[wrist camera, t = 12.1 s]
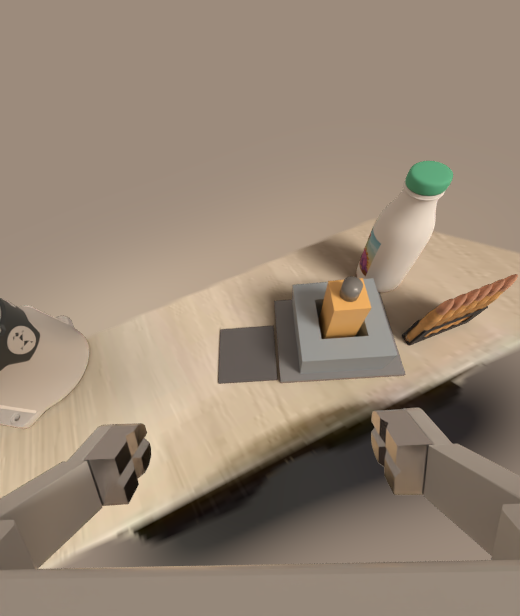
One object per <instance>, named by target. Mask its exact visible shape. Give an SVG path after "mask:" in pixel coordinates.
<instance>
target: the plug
mask: <svg viewBox="0 0 520 616" xmlns="http://www.w3.org/2000/svg"><path fill="white" fill-rule="evenodd" d="M370 310H371V304H370V301H369V297H368V294H367V291H366V287H365V284H364V280H363V278H360V279H359V278H357V277H347V278H346V279H344V280H336V281H328V284H327V288H326V292H325V296H324V300H323V305H322V309H321V313H320V317H319V327H320V333H321V339H331V338H345V337H355V335H356V333H357V332H358V330H359V328H360V327H361V325H362V323H363V322H364V320H365V318H366V317H367V315H368V313H369V312H370Z"/></svg>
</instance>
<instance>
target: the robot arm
mask: <svg viewBox="0 0 520 616" xmlns="http://www.w3.org/2000/svg"><path fill="white" fill-rule="evenodd" d="M88 360H89V345H88V342H87V340H86V338H85V337H84V335H83V334H82V333H80V332H79V331H77V330H76V329H75V328H74V326H73V323H72V321H71V319H70V318H68V317H66V316H58V317H53V316H51V315H49V314H47V313H44V312H42V311H40V310H38V309H36V308H34V307H31V306H28V305H24V306H19V307H17V306H15V305H13V304H12V303H11V302H9V301H7V300H5V299H2V298H0V424H1V425H6V426H11V427H17V428H22V429H26V428H28V427H30V426H31V425H33V424H34V423H35V422H36V421H37V420H38V418H39V417H40V416H41V415H42V414H43V413H44V412H45V411H46V410H47V409H49V408H50V407H51V406H53V405H55V404H56V403H58V402H59V401H61V400H62V399H63V398H64V397H65V396H67V395H68V394H69V393H70V392H71V391H72V390H73V389H74V387H75V386H76V385H77V384H78V382H79V381H80V379H81V377H82V376H83V374H84V372H85V370H86V367H87V364H88ZM19 418H20V419H19ZM372 423H373V425H374V426H375V428H374V429H373V431H372V432H371V441H372V447H373V451H374V454H375V457H376V459H377V461H378V463H379V464H381V465H382V466H384V476H385V477H386V480H387V482H388V484H389V486H390V488H391V490H392V492H393V494H394V495H424V497H425V498H426V499H427V500H428V501H429V502H431V503H432V504H433V505H434V506H435V507H436V508H437V509H439V510H440V511H441V512H442V513H443V514H444V515H445V516H446V517H448V518H449V519H450V520H451V521H452V522H453V523H455V524H456V525H457V526H458V527H459V528H460V529H461V530H463V531H464V532H465V533H466V534H467V535H468V536H469V537H471V538H472V539H473V540H474V541H475V542H476V543H477V544H479V545H480V546H481V547H482V548H483V549H484V550H485V551H486V552H488V553H489V554H490V555H491V556H492V558H491V560H481V561H428V562H427V561H425V562H375V563H326V564H281V565H280V564H278V565H226V566H225V565H224V566H170V567H121V568H120V567H118V568H117V567H116V568H64V569H38V568H39V567H40V566H41V565H42V564H43V563H44V562H45V561H46V560H48V559H49V558H50V557H51V556H52V555H53V554H54V553H55V552H56V551H57V550H58V549H59V548H60V547H61V546H62V545H63V544H64V543H65V542H67V541H68V540H69V539H70V538H71V537H72V536H73V535H74V534H75V533H76V532H77V531H78V530H79V529H80V528H81V527H82V526H83V525H85V524H86V523H87V522H88V521H89V520H90V519H91V518H92V517H93V516H94V515H95V514H96V513H97V512H98V511H99V510H100V509H101V508H102V506H108V505H123V504H129V502H130V500H131V498H132V496H133V494H134V493H135V491H136V489H137V487H138V485H139V483H138V478H139V477H140V476H141V475H143V474H144V473H145V472H146V470H147V468H148V466H149V462H150V458H151V447H150V443H149V442H148V441H147V440H146V439H145V438H144V437H145V436H146V434H147V431H146V428H145V425H143V424H141V423H139V424H115V425H114V424H112V425H101V426H99V427H98V428H97V429H96V430H95V431H94V432H93V433H92V434H91V435H90V436H89V438H88V439H87V440H86V441H85V442H84V443H83V444H82V445H81V446H80V447H79V449H78V450H77V451H76V452H75V453H74V454H73V455H72V456H71V457H70V459H69V460H68V461H67V462H61V463H59V464H58V465H56V466H54V467H53V468H51V469H49V470H48V471H46V472H44V473H43V474H41V475H39V476H37V477H36V478H34V479H32V480H31V481H29V482H27V483H26V484H24V485H22V486H21V487H19V488H17V489H16V490H14V491H12V492H11V493H9V494H7V495H5V496H4V497H2V498H0V616H520V476H519V475H517V474H515V473H513V472H511V471H509V470H507V469H505V468H503V467H501V466H500V465H498V464H496V463H494V462H492V461H490V460H488V459H486V458H484V457H482V456H480V455H478V454H476V453H474V452H473V451H470V450H469V449H467V448H465V447H463V446H461V445H459V444H452V443H451V442H450V441H449V439H448V438H447V437H446V436H445V435H444V434H443V433H442V432H441V430H440V429H439V428H438V427H437V426H436V425H435V424H434V423H433V421H432V420H431V419H430V418H429V417H428V416H427V415H426V414H425V412H424V411H423V410H422V409H420V408H408V409H401V410H384V411H373V413H372Z"/></svg>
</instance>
